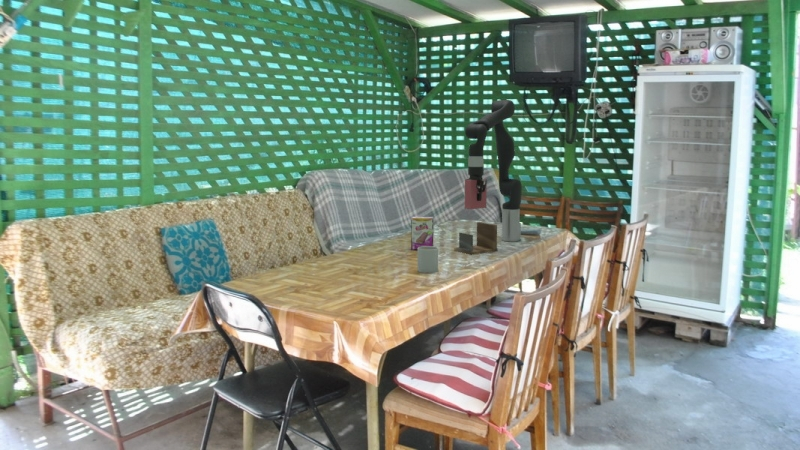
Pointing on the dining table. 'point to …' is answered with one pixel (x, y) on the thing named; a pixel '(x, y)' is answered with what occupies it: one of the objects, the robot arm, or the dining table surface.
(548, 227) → the dining table surface
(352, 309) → the dining table surface
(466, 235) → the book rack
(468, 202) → the burgundy book
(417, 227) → the candy bar box
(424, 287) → the dining table surface
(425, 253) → the mug
